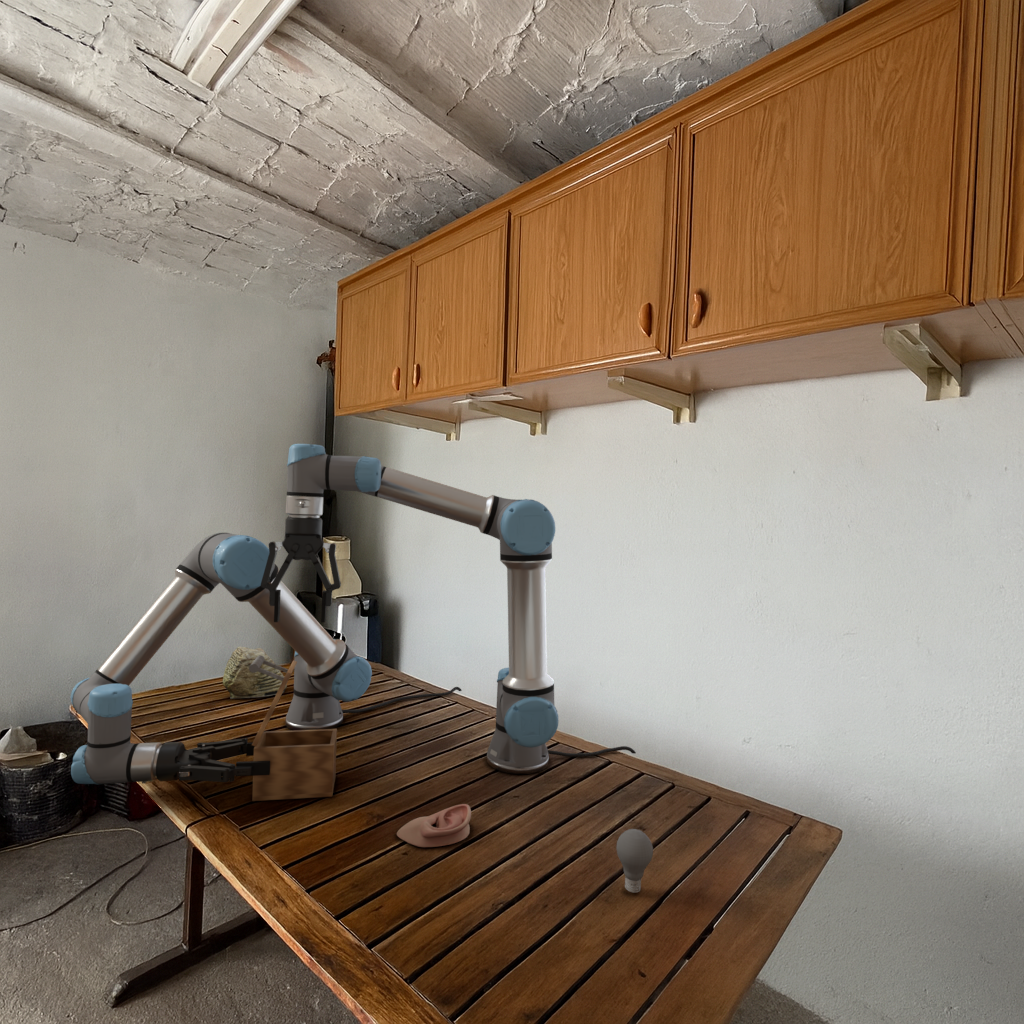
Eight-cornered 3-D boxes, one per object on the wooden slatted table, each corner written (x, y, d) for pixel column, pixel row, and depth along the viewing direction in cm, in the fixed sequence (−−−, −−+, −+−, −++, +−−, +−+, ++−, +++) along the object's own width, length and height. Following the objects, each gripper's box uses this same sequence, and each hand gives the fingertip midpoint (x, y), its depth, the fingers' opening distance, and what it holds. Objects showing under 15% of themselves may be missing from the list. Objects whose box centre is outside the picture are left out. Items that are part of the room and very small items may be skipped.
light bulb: (610, 879, 108) (613, 822, 108) (644, 879, 109) (647, 822, 109) (619, 902, 102) (622, 840, 102) (655, 901, 103) (658, 840, 103)
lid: (297, 661, 141) (261, 647, 139) (291, 673, 131) (252, 658, 130) (264, 729, 140) (228, 716, 138) (256, 746, 130) (216, 732, 129)
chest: (335, 776, 143) (336, 728, 143) (332, 796, 134) (333, 745, 134) (261, 780, 140) (262, 731, 140) (252, 801, 131) (253, 748, 130)
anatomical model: (391, 821, 117) (413, 793, 128) (390, 842, 117) (412, 813, 128) (460, 832, 114) (476, 802, 125) (459, 853, 114) (475, 822, 126)
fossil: (218, 695, 195) (220, 647, 195) (278, 685, 208) (279, 640, 207) (228, 703, 189) (230, 653, 188) (289, 692, 201) (290, 645, 201)
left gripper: (176, 757, 142) (281, 754, 147) (139, 805, 120) (263, 799, 125) (177, 724, 142) (282, 722, 147) (141, 766, 120) (265, 761, 125)
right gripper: (246, 515, 130) (242, 624, 130) (355, 519, 134) (351, 624, 135) (254, 514, 137) (250, 617, 138) (356, 517, 142) (352, 618, 142)
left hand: (274, 757), depth 136 cm, fingers closed on chest, 10 cm apart
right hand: (300, 621), depth 136 cm, fingers open, 9 cm apart
